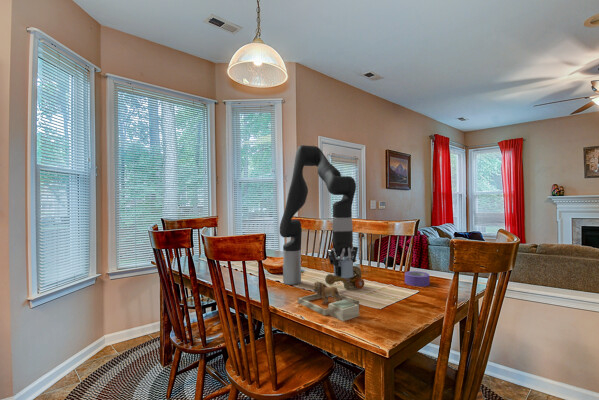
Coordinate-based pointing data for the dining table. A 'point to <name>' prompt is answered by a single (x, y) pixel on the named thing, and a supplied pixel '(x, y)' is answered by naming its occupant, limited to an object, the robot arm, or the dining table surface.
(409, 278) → the tape roll
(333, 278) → the toy helicopter
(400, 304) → the dining table surface
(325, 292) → the lion figurine
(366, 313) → the dining table surface
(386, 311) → the dining table surface
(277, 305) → the dining table surface
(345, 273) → the fin block
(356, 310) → the grey rectangular frame
